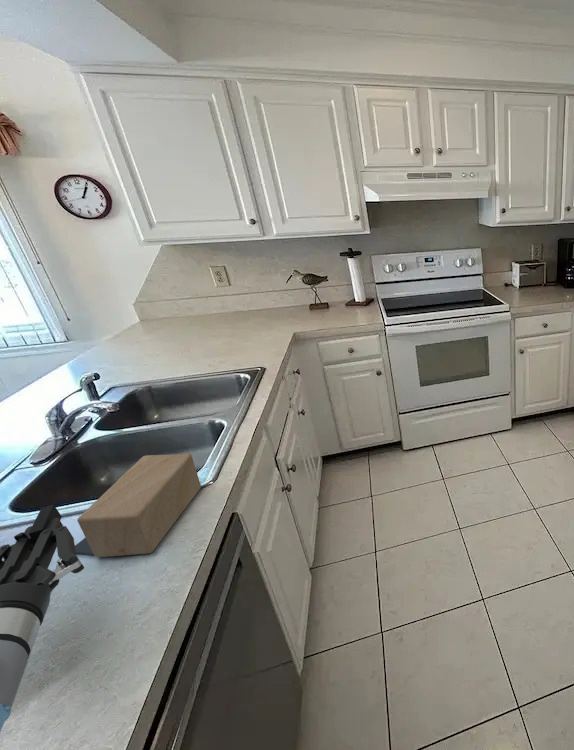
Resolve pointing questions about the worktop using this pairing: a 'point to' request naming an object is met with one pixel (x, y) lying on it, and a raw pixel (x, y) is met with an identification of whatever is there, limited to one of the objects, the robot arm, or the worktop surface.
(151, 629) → the worktop surface
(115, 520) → the wooden block
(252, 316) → the worktop surface
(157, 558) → the worktop surface
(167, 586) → the worktop surface
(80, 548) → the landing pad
